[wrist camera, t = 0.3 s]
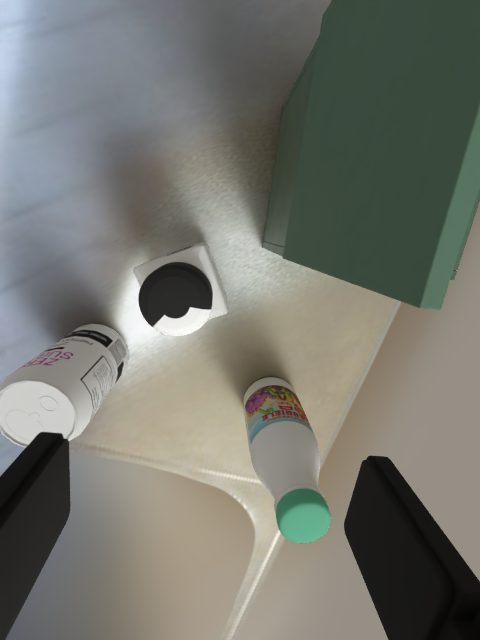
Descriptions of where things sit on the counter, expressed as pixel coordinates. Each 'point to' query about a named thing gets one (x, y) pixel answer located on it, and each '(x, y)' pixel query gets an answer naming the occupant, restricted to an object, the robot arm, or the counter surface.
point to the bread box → (289, 159)
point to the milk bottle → (286, 458)
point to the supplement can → (62, 385)
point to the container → (181, 290)
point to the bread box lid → (390, 146)
